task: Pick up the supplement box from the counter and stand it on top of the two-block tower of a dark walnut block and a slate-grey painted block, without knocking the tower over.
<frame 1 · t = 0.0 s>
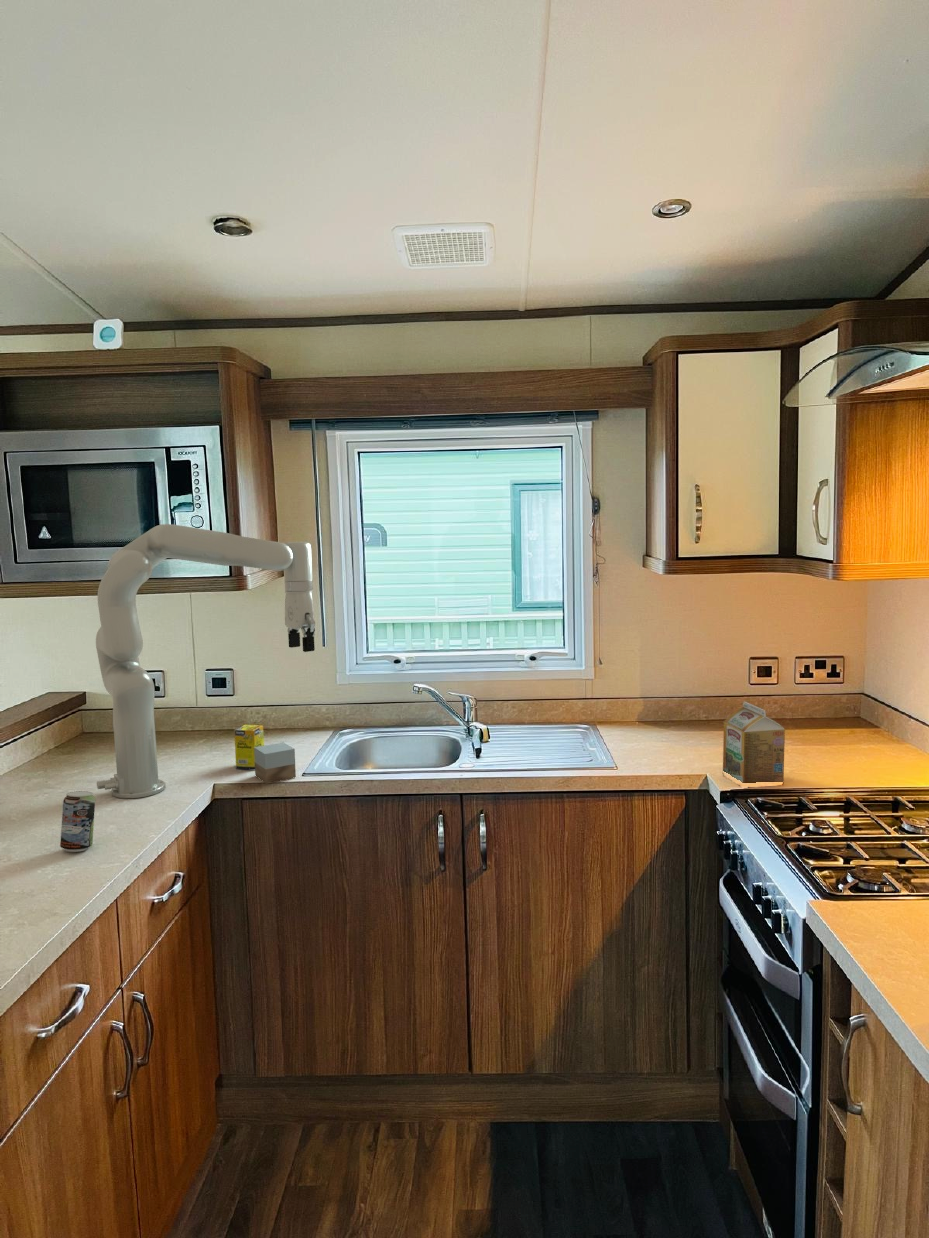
hand: (301, 649, 233), 31 cm above the worktop, tool pointing down, fingers open, 9 cm apart
beverage can: (79, 849, 175), on the worktop
slate block: (274, 762, 221), point 4 cm above the worktop, touching walnut block
milk carton: (752, 781, 211), on the worktop
supplement box: (250, 767, 231), on the worktop
walnut block: (275, 777, 221), on the worktop, touching slate block
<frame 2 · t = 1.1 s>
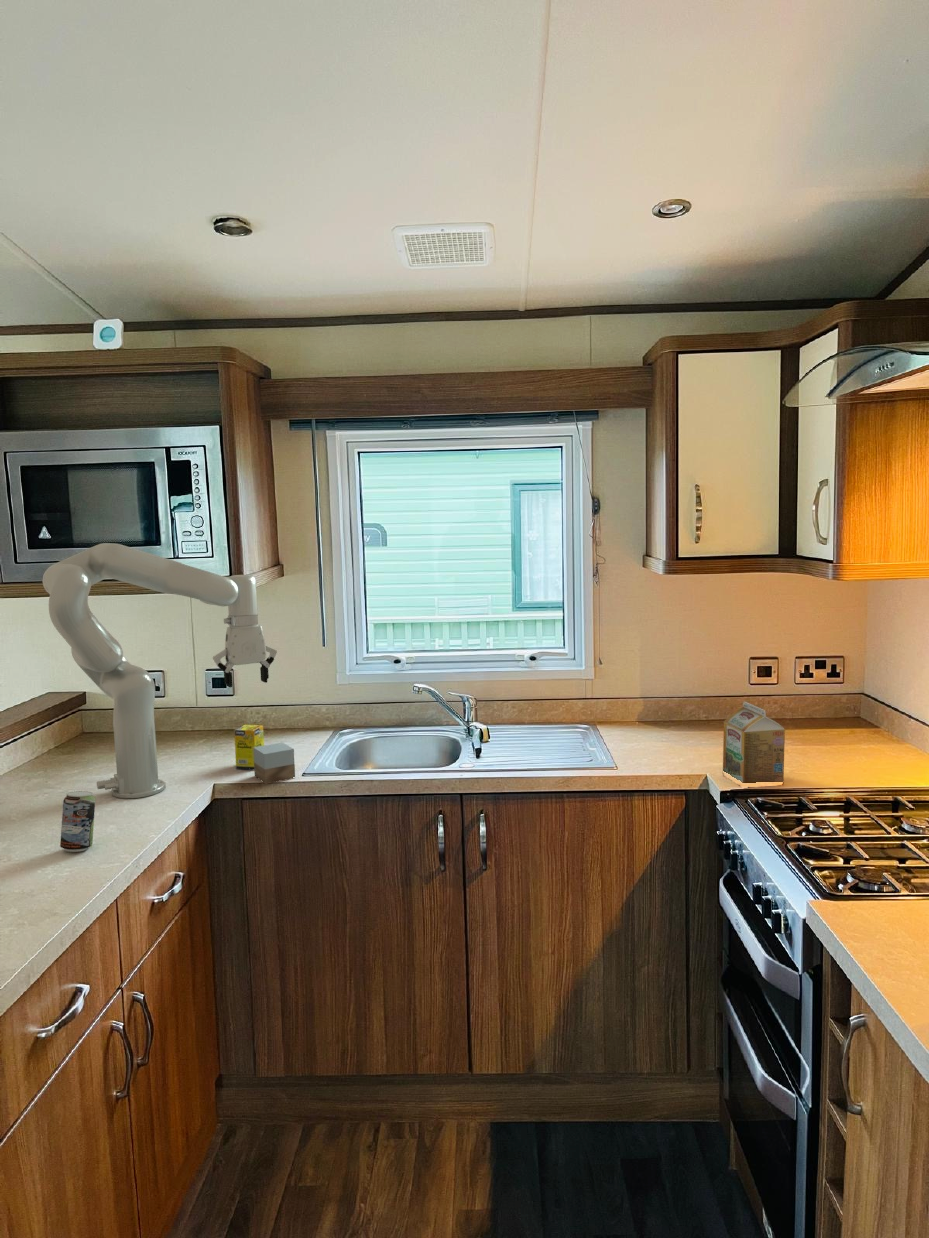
hand: (247, 684, 228), 23 cm above the worktop, tool pointing down, fingers open, 9 cm apart
slate block: (274, 762, 221), point 4 cm above the worktop
walnut block: (274, 777, 221), on the worktop
everything else where it was.
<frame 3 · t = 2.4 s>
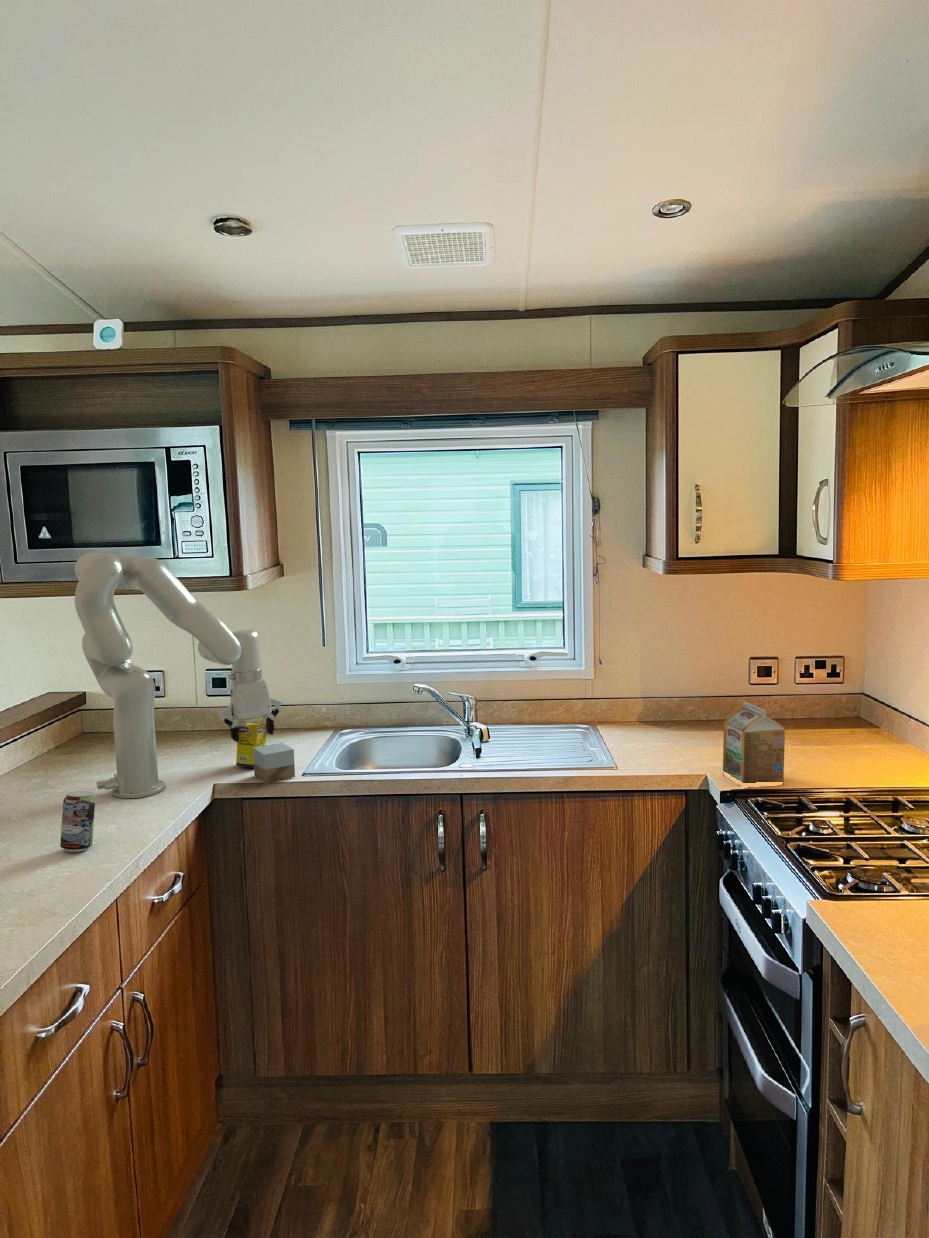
hand: (253, 737, 231), 8 cm above the worktop, tool pointing down, fingers open, 9 cm apart
slate block: (274, 763, 221), point 4 cm above the worktop, touching walnut block
supplement box: (250, 765, 231), on the worktop, touching gripper
walnut block: (274, 777, 221), on the worktop, touching slate block
everything else where it was.
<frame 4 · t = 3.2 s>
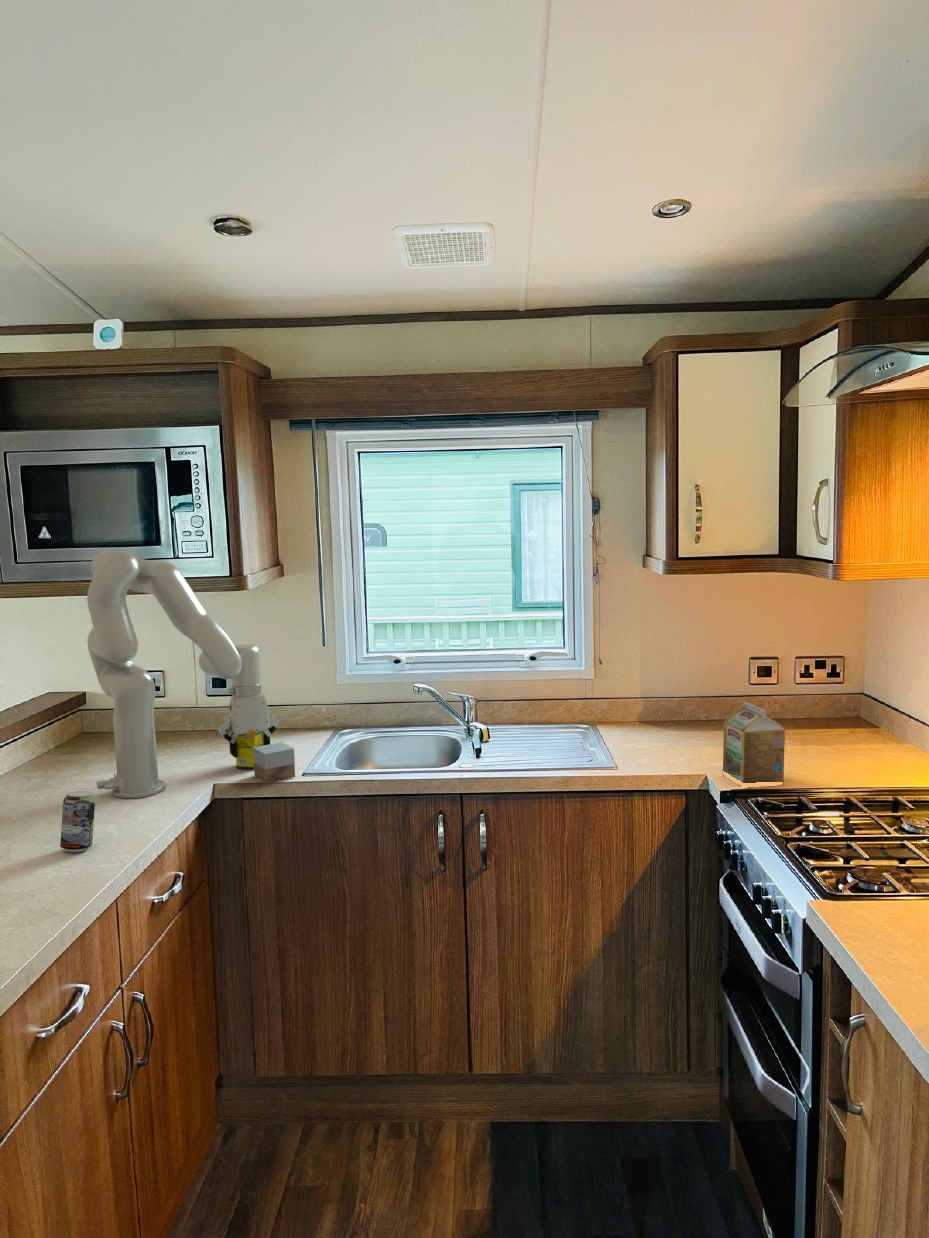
hand: (250, 753, 231), 4 cm above the worktop, tool pointing down, fingers closed on supplement box, 8 cm apart
supplement box: (251, 767, 231), on the worktop, touching gripper
everything else where it was.
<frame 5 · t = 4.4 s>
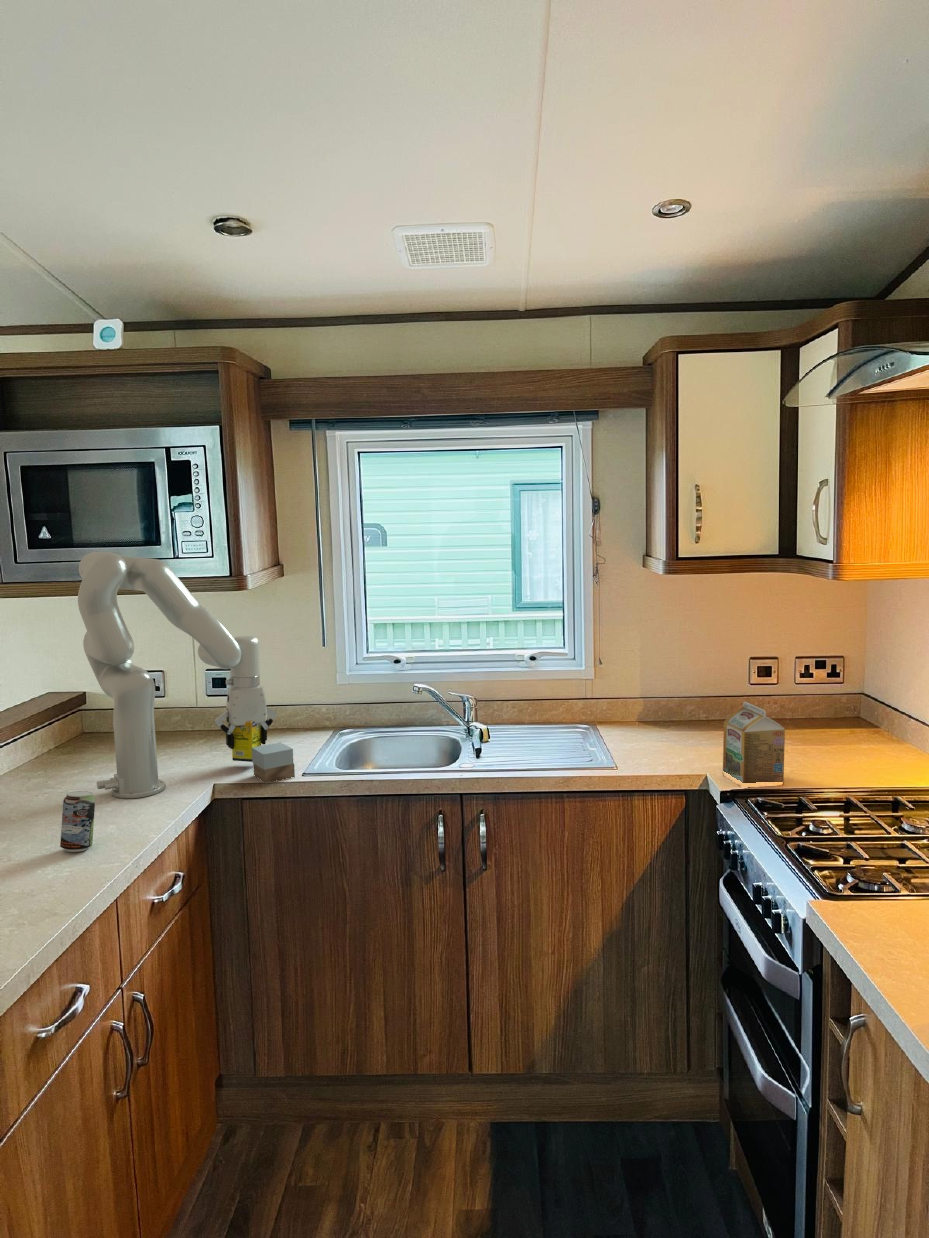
hand: (246, 745, 230), 6 cm above the worktop, tool pointing down, fingers closed on supplement box, 8 cm apart
supplement box: (247, 759, 230), point 2 cm above the worktop, touching gripper
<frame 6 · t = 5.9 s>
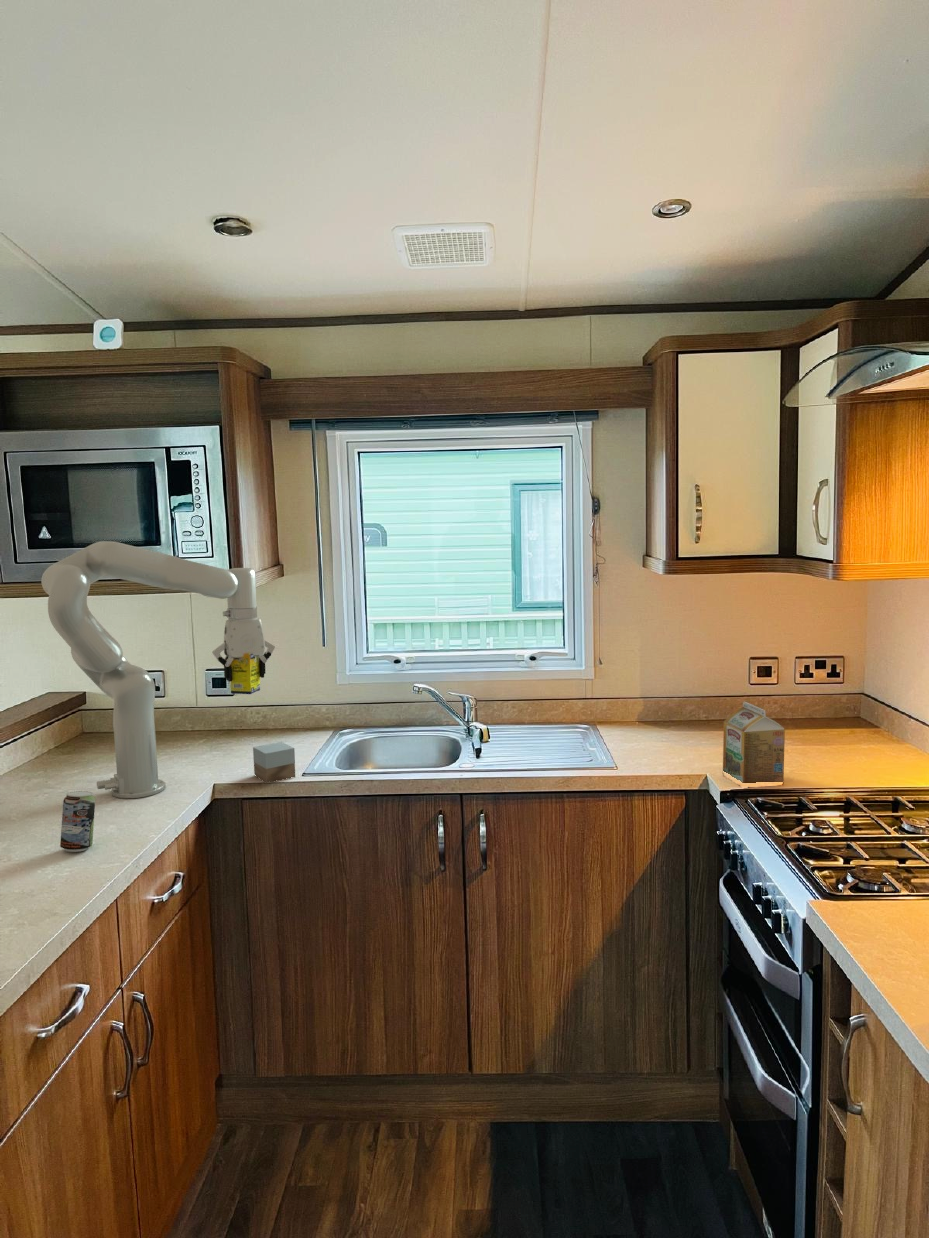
hand: (245, 678, 228), 24 cm above the worktop, tool pointing down, fingers closed on supplement box, 8 cm apart
supplement box: (245, 692, 228), point 21 cm above the worktop, touching gripper
when the fingers open (13 cm above the worktop, at t = 9.8 s): supplement box drops 1 cm, resting on slate block.
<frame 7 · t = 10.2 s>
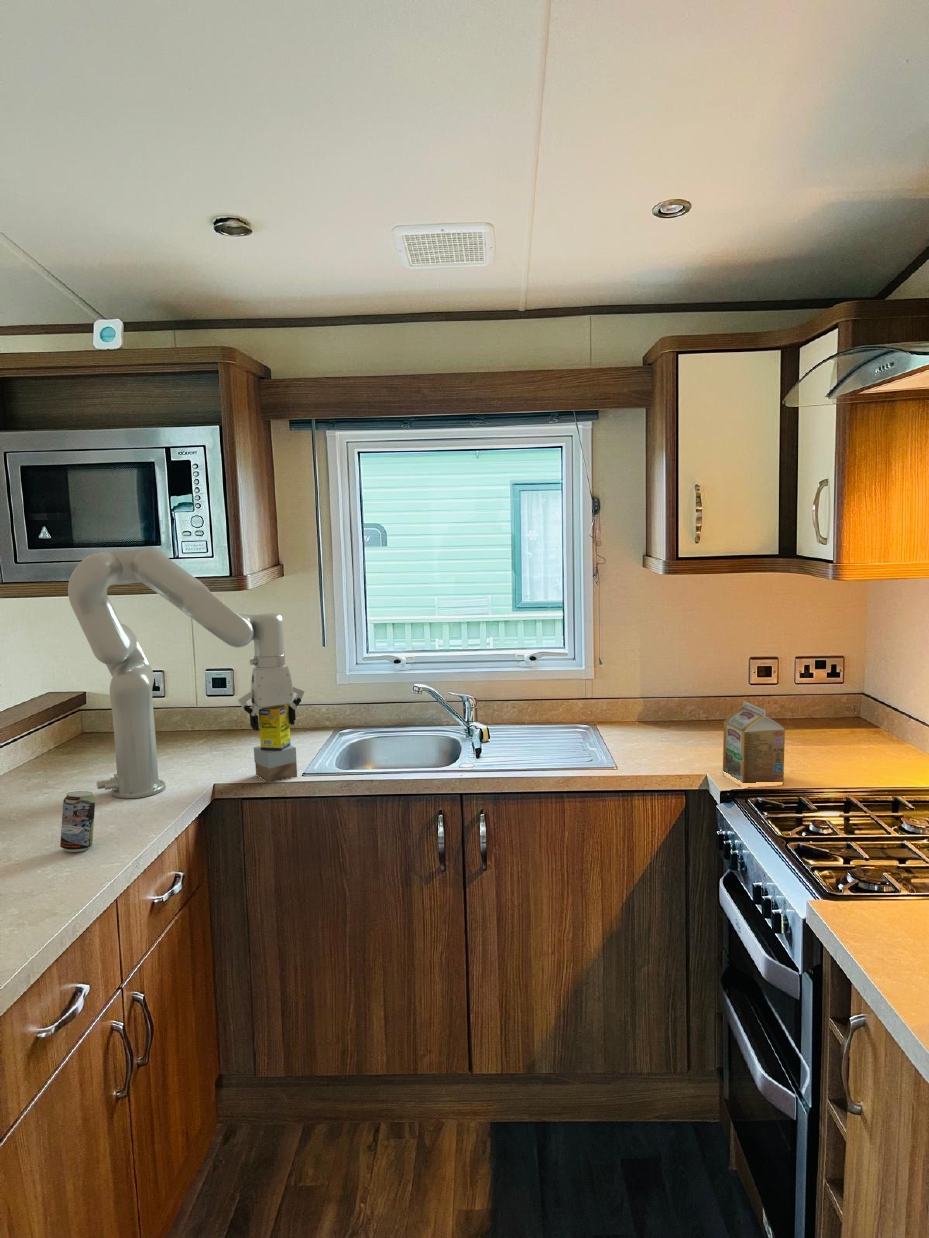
hand: (273, 726, 220), 13 cm above the worktop, tool pointing down, fingers open, 9 cm apart
slate block: (275, 762, 222), point 4 cm above the worktop, touching supplement box, walnut block
supplement box: (276, 748, 221), point 7 cm above the worktop, touching gripper, slate block
everything else where it was.
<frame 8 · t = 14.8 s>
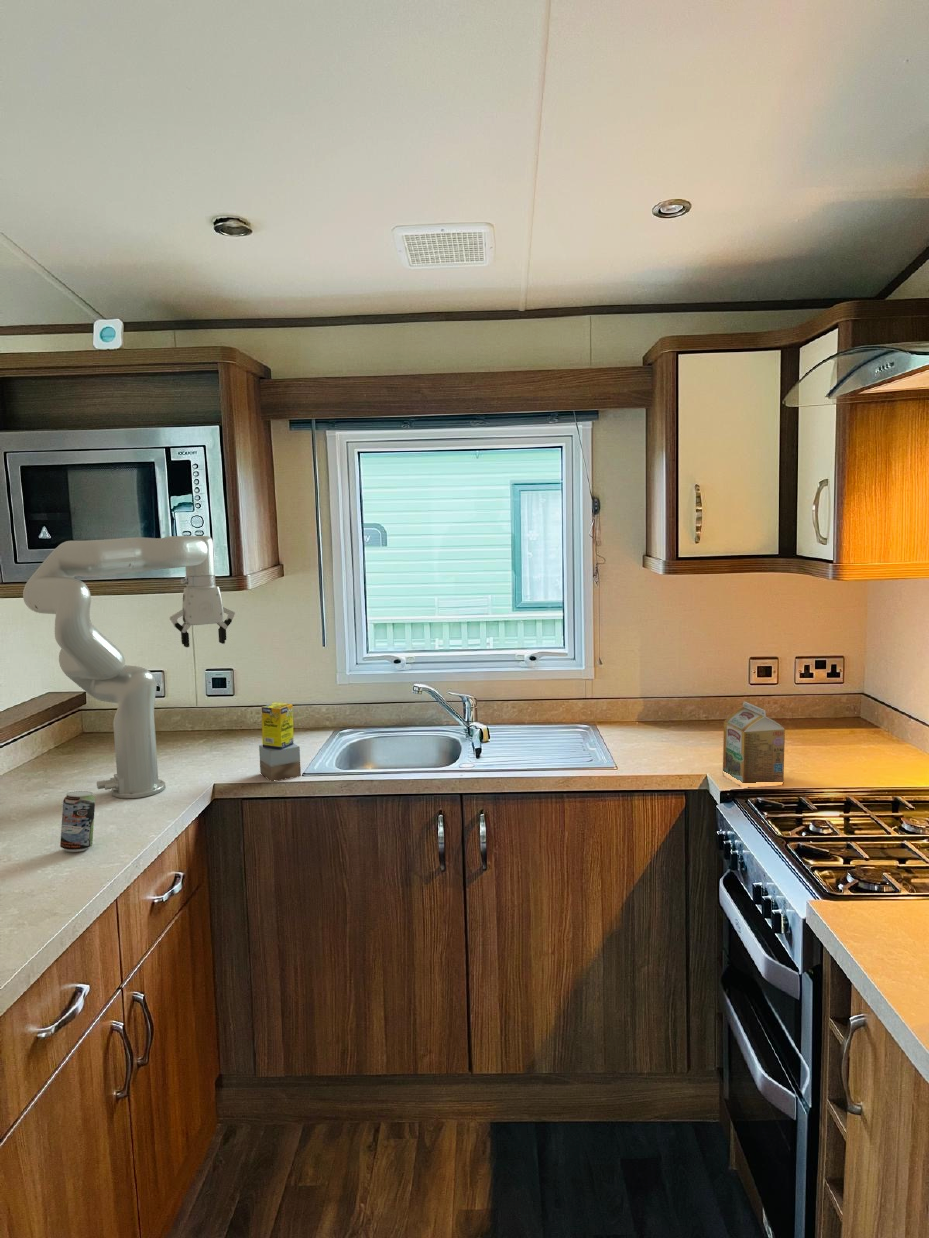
hand: (204, 644, 230), 33 cm above the worktop, tool pointing down, fingers open, 9 cm apart
slate block: (279, 760, 223), point 4 cm above the worktop, touching supplement box, walnut block
supplement box: (278, 746, 222), point 8 cm above the worktop, touching slate block
walnut block: (280, 775, 223), on the worktop, touching slate block
everything else where it was.
at the end: supplement box 0.4 cm off-centre on the slate block, point 3.8 cm above the slate block's base; supplement box tilted 1°; slate block moved 2.1 cm from its start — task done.
